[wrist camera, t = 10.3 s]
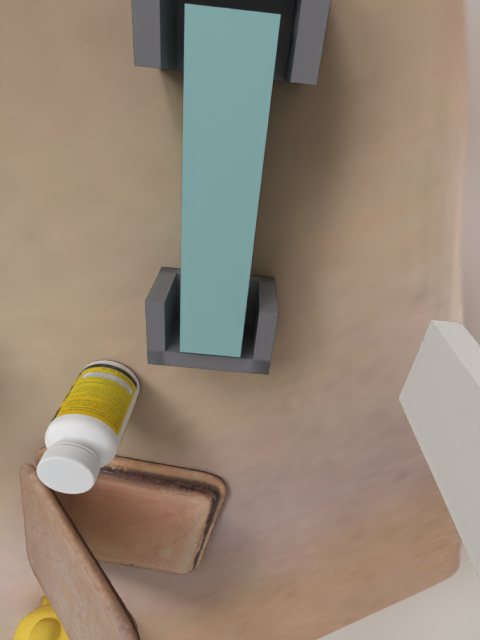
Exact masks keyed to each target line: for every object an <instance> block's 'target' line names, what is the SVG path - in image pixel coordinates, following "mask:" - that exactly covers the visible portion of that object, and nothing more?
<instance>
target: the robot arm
mask: <svg viewBox="0 0 480 640" xmlns="http://www.w3.org/2000/svg"><path fill="white" fill-rule="evenodd" d="M399 400H400V403H401V405H402V407H403V409H404V412H405V414H406V416H407V418H408V421H409V423H410V425H411V427H412V430H413V432H414V434H415V436H416V439H417V441H418V443H419V445H420V448H421V450H422V452H423V454H424V457H425V459H426V461H427V463H428V466H429V468H430V470H431V472H432V475H433V477H434V479H435V481H436V483H437V486H438V488H439V490H440V492H441V495H442V497H443V499H444V501H445V504H446V506H447V508H448V510H449V513H450V515H451V517H452V519H453V522H454V524H455V526H456V528H457V531H458V533H459V535H460V537H461V540H462V542H463V544H464V546H465V549H466V551H467V553H468V555H469V557H470V560H471V562H472V564H473V567H474V569H475V570H476V573H477V575H478V578H479V580H480V346H479V344H478V343H477V342H476V341H475V340H474V338H473V337H472V336H471V335H470V333H469V332H468V331H467V330H466V329H465V327H464V326H463V325H462V324H461V323H457V322H446V321H435V320H431V322H430V325H429V327H428V330H427V332H426V334H425V337H424V339H423V342H422V344H421V346H420V349H419V351H418V353H417V356H416V358H415V361H414V363H413V365H412V368H411V370H410V372H409V375H408V377H407V380H406V382H405V384H404V387H403V389H402V391H401V394H400V396H399Z"/></svg>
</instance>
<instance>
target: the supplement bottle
mask: <svg viewBox="0 0 480 640" xmlns="http://www.w3.org/2000/svg"><path fill="white" fill-rule="evenodd" d="M139 390H140V386H139V382H138V379H137V377H136V376H135V374H134V373H133V372H132V371H131V370H130V369H129V368H127V367H126V366H124V365H122V364H120V363H117V362H113V361H107V360H103V361H96V362H92V363H90V364H88V365H87V366H85V367H84V368H83V370H82V371H81V372H80V374H79V376H78V377H77V379H76V380H75V382H74V384H73V386H72V387H71V389H70V391H69V392H68V394H67V396H66V397H65V399H64V401H63V403H62V404H61V406H60V408H59V409H58V411H57V412H56V414H55V416H54V418H53V419H52V421H51V423H50V424H49V426H48V428H47V430H46V433H45V444H46V447H47V450H46V451H45V452H44V454H43V456H42V458H41V460H40V462H39V464H38V466H37V470H36V472H37V476H38V478H39V479H40V480H41V481H42V483H44V484H45V485H46V486H48V487H49V488H51V489H53V490H55V491H58V492H62V493H67V494H79V493H84V492H86V491H88V490H90V489H91V488H92V487H93V485H94V483H95V481H96V478H97V476H98V474H99V471H100V468H101V467H103V466H105V465H107V464H108V463H110V462H111V461H112V460H113V459H114V457H115V455H116V453H117V451H118V449H119V446H120V443H121V440H122V438H123V435H124V432H125V430H126V427H127V424H128V422H129V419H130V416H131V414H132V411H133V408H134V406H135V403H136V401H137V398H138V395H139Z"/></svg>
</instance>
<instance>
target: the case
mask: <svg viewBox="0 0 480 640" xmlns="http://www.w3.org/2000/svg"><path fill="white" fill-rule="evenodd" d="M46 450H47V447H44V448H42V449H41V450H40V451H39V452H38V453H37V455H36V469H35V468H34V467H33V466H32V465H31V464H24V465H23V466H22V467H21V469H20V483H21V493H22V503H23V513H24V525H25V535H26V549H27V556H28V560H29V563H30V566H31V568H32V570H33V573H34V575H35V577H36V579H37V580H38V582H39V584H40V586H41V588H42V589H43V591H44V593H45V595H46V597H47V599H48V601H49V602H50V604H51V606H52V608H53V610H54V612H55V613H56V615H57V617H58V619H59V621H60V623H61V625H62V626H63V628H64V630H65V632H66V634H67V636H68V638H69V640H140V636H139V633H138V630H137V624H136V621H135V619H134V617H133V616H132V614H131V613H130V612H129V611H128V609H127V608H126V606H125V605H124V603H123V601H122V600H121V598H120V597H119V595H118V594H117V592H116V590H115V589H114V587H113V586H112V584H111V582H110V580H109V579H108V577H107V576H106V574H105V572H104V571H103V569H102V568H101V566H100V564H99V563H98V561H103V562H109V563H114V564H120V565H125V566H132V567H138V568H144V569H150V570H157V571H161V572H167V573H173V574H187V573H190V572H191V571H193V570H195V569H196V568H198V566H199V565H200V563H201V561H202V558H203V555H204V552H205V549H206V546H207V543H208V540H209V537H210V535H211V532H212V529H213V527H214V524H215V522H216V519H217V517H218V514H219V512H220V509H221V507H222V504H223V502H224V500H225V497H226V494H227V489H226V485H225V483H224V482H223V481H222V480H221V479H220V478H218V477H217V476H214V475H212V474H209V473H205V472H200V471H194V470H189V469H184V468H178V467H173V466H168V465H162V464H156V463H150V462H145V461H140V460H134V459H129V458H124V457H118V456H115V457H114V459H113V460H112V461H111V462H110V463H108V464H107V465H105V466H103V467H101V468H100V471H99V474H98V476H97V478H96V481H95V483H94V485H93V487H92V488H91V489H90V490H88V491H86V492H84V493H79V494H67V493H62V492H58V491H55V490H53V489H51V488H49V487H48V486H46V485H45V484H44V483H42V481H41V480H40V479H39V478H38V476H37V472H36V470H37V466H38V464H39V462H40V460H41V458H42V456H43V454H44V452H45V451H46ZM97 560H98V561H97Z"/></svg>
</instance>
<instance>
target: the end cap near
mask: <svg viewBox="0 0 480 640" xmlns="http://www.w3.org/2000/svg"><path fill="white" fill-rule="evenodd" d="M330 1H331V0H132V22H133V44H134V66H142V67H151V68H161V69H172V70H183V71H184V22H185V4H194V5H203V6H211V7H220V8H229V9H238V10H246V11H255V12H264V13H273V14H281V17H280V25H279V34H278V42H277V51H276V59H275V68H274V76H273V80H277V81H286V82H292V83H302V84H311V85H317V79H318V73H319V67H320V61H321V55H322V49H323V43H324V37H325V31H326V25H327V19H328V13H329V7H330Z"/></svg>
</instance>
